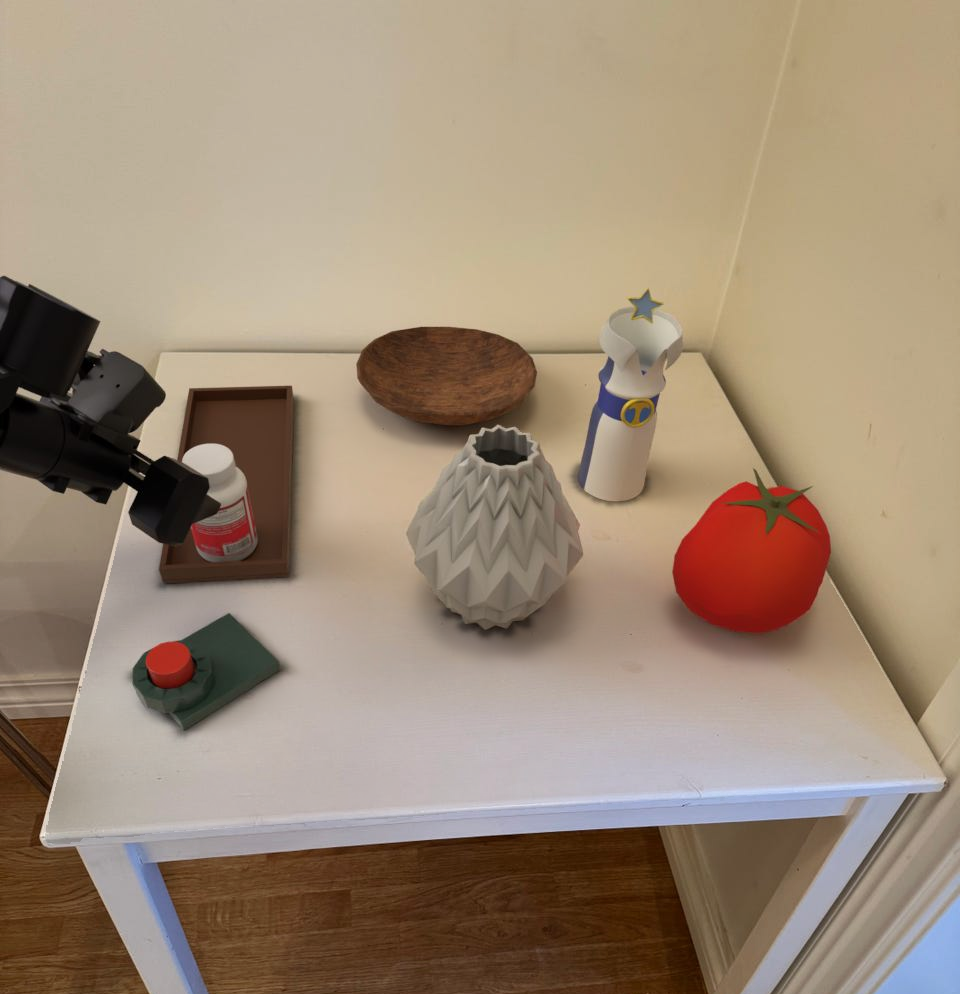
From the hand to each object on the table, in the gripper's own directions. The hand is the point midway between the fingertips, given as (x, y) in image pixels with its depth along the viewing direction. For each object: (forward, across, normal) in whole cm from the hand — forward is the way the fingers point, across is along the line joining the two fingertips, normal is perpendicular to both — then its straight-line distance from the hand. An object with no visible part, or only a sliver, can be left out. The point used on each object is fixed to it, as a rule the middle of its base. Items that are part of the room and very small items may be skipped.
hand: (184, 486), depth 79 cm
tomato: (+28, -44, -14) cm, 54 cm away
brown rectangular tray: (+15, +8, -1) cm, 17 cm away
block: (+1, -11, +13) cm, 17 cm away
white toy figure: (+35, -24, -21) cm, 47 cm away
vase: (+18, -25, -3) cm, 31 cm away
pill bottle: (+9, 0, +5) cm, 10 cm away
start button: (-3, -10, +14) cm, 18 cm away
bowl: (+34, 0, -20) cm, 40 cm away
